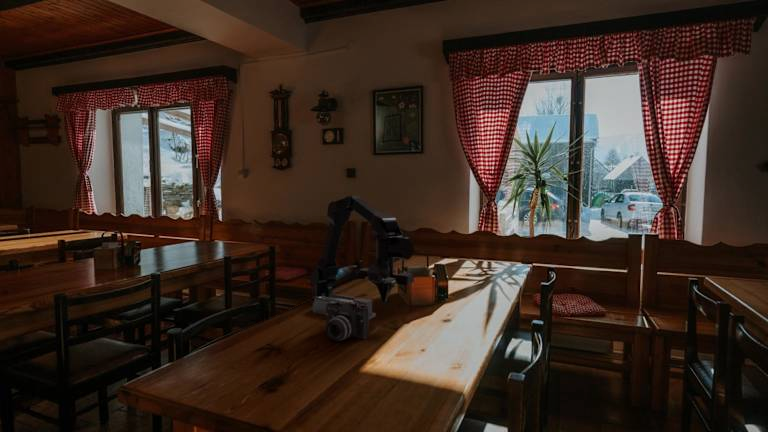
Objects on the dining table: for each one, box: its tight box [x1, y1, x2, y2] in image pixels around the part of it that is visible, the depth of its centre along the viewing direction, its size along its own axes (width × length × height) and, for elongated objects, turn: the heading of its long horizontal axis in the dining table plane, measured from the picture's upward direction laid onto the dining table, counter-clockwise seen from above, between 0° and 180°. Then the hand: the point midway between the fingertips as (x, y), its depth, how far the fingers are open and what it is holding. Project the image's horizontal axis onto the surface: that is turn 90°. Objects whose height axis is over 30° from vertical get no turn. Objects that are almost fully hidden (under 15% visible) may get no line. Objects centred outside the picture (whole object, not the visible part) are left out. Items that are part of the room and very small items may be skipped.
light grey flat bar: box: [319, 296, 354, 303], centre depth 158 cm, size 14×2×1 cm, turn 62°
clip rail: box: [368, 312, 377, 321], centre depth 154 cm, size 8×5×1 cm, turn 62°
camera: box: [325, 300, 370, 342], centre depth 133 cm, size 14×11×10 cm
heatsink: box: [312, 292, 359, 316], centre depth 158 cm, size 15×10×5 cm, turn 62°
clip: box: [353, 297, 373, 315], centre depth 153 cm, size 5×4×4 cm
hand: (384, 301), depth 149 cm, fingers closed
